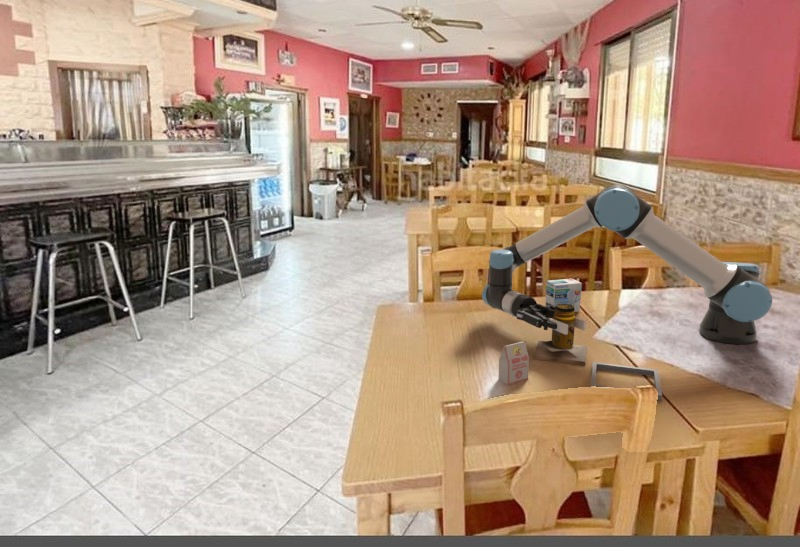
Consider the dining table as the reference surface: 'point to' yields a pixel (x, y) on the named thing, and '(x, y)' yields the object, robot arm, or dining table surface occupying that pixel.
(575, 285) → the light bulb box
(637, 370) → the square collar
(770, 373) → the dining table surface
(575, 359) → the walnut board
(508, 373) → the white milk carton
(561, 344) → the yellow cylindrical jar
